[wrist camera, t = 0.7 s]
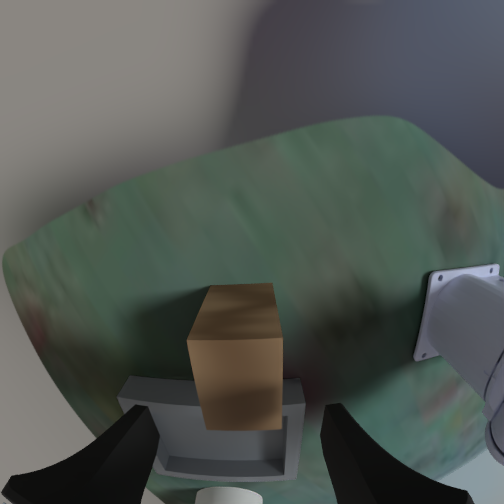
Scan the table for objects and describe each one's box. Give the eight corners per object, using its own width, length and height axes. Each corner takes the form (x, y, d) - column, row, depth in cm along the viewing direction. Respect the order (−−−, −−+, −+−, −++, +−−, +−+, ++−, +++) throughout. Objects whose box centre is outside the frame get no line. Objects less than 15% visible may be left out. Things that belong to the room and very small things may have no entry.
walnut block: (272, 282, 17) (282, 337, 11) (273, 358, 19) (281, 429, 12) (210, 285, 18) (186, 340, 11) (219, 360, 19) (206, 430, 12)
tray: (299, 377, 19) (305, 403, 16) (293, 457, 22) (296, 479, 19) (129, 375, 19) (116, 396, 16) (163, 454, 22) (157, 473, 19)
